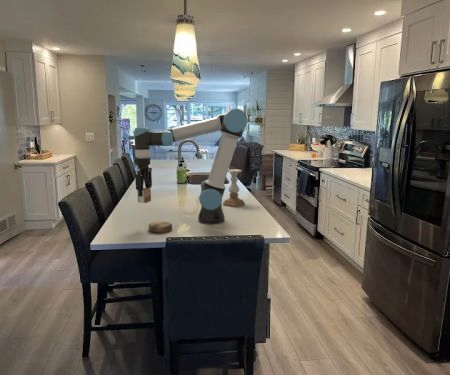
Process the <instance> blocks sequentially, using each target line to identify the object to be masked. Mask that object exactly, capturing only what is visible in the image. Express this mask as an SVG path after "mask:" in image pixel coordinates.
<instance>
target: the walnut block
mask: <svg viewBox="0 0 450 375" xmlns="http://www.w3.org/2000/svg"><path fill="white" fill-rule="evenodd" d="M151 189H152V187H151V188H146V187H143V190H144V200H145V202H139V190H136V192H137V203H139V204H140V203H141V204H143V203H144V204H147V203H150V202H151V201H152V192H151V191H152V190H151Z"/></svg>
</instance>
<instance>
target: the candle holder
mask: <svg viewBox="0 0 450 375" xmlns="http://www.w3.org/2000/svg"><path fill="white" fill-rule="evenodd" d="M242 171H243V170H242V169H237V168H229V169H228V172H227V173H229V174H230V175H231V178H230V182H231V184H230V185H229V187H228V192H229V196H228V197H229V198H227V199H225V200H224V201H222V206H224V207H231V208H238V206H239V207H242V206H244V204H245V200H243V199H241V198H239V192H240V187H239V185H238V184H237V182H238V181H239V179H238V175H239V173H241V172H242ZM241 205H242V206H241ZM245 205H246V204H245Z"/></svg>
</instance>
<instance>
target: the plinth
mask: <svg viewBox="0 0 450 375" xmlns="http://www.w3.org/2000/svg"><path fill="white" fill-rule="evenodd" d="M172 231H173V224H172V223H171V222H168V221H154V222H150V223H149V224H148V232H149V233H151V234H158V235H159V234H167V233H170V232H172Z"/></svg>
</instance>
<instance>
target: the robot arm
mask: <svg viewBox="0 0 450 375" xmlns="http://www.w3.org/2000/svg"><path fill="white" fill-rule="evenodd" d="M247 125H248V116H247V114H246V113H245V111H243V109H241V108H236V107H235V108H230V109H229V110H227V111H226V112H223V113H220V114H217V116H215V117H213V118H208V119H203V120H200V121H196V122H192V123H188V124H184V125H180V126H176V127H171V128H168V129H164V130H158V131H154V130H153V131H151V130H150V128H149V127H142V126H141V127H140V126H139V127H134V136H133V137H134V138H133V139H134V153H135V154H134V155H135V156H134V157H135V165H136V166H137V170H134V175H135V176H134V177H135V178H134V179H135V180H134V181H135V190H136V191H137V190H139V202H138V203H140V202H145V200H144V190H143V188H151V189H152V186H153V179H152V178H153V176H152V171H153V169H152V167H149V166H150V165H151V148H150V147H153V146H154V147H171V146H173V143H176V142H180V141H185V140H188V139H192V138H196V137H201V136H204V135H208V134H212V133H216V132H220V134H221V136H220V139H219V142H218V143H219V144H218V146H217V149H216V153H215V155H214V160H213V162H212V166H211V170H210V172H209V176H208V178H207V179H206V180H203V181H201V183H200V184H201V185H200V194H199V197H198V198H199V199H198V200H199V203H200V206H201V207H200V211H199V214H198V217H197V218H198V219H197V220H198V222H200V223H201V224H205V225H206V224H207V225H208V224H209V225H212V224H213V225H215V224H222V223H224V222H225V220H226V219H225V217H226V216H225V213H224V210H223V197H224V194H225V190H226V186H225V182H226V177H227V175H228V173H229V172H228V169H230V165H231V162H232V159H233V156H234V153H235V149H236V146H237V144H238V141H239V140H241V139H242V137H243V135H244V131H245V129H246V127H247Z"/></svg>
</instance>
